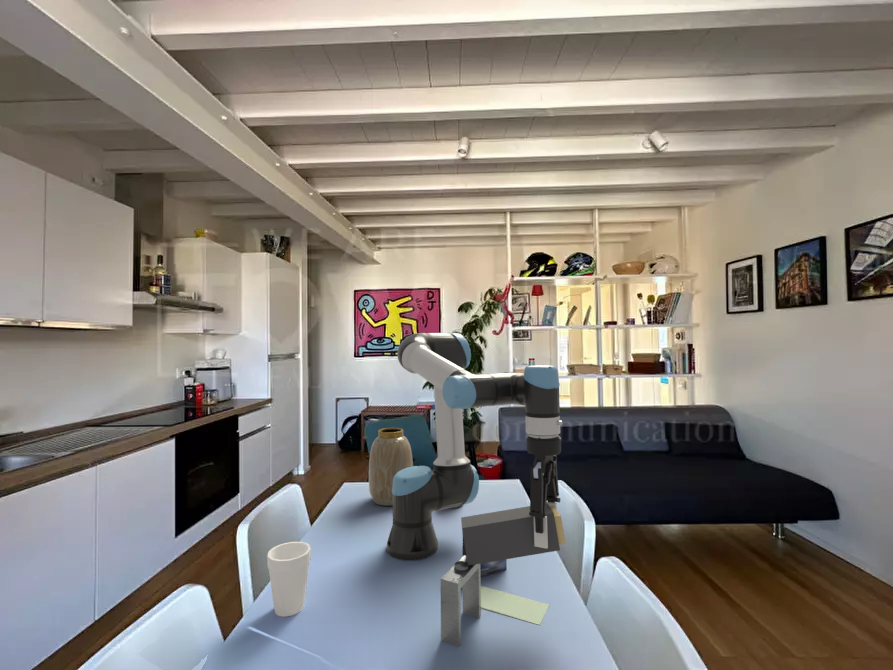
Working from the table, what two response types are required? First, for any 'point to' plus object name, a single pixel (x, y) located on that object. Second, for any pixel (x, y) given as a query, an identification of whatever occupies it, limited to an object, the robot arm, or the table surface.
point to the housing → (459, 598)
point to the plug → (508, 535)
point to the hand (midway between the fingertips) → (546, 538)
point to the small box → (489, 565)
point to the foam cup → (289, 576)
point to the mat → (513, 605)
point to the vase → (387, 463)
